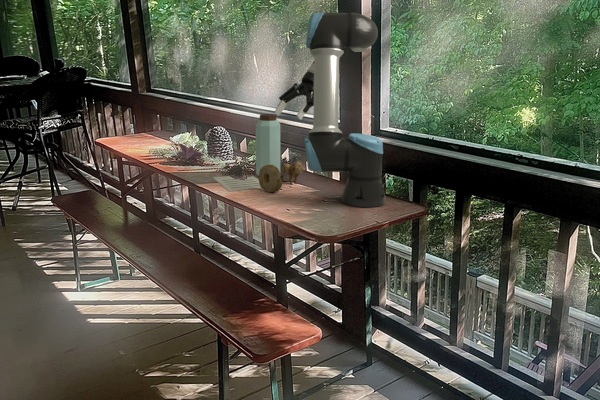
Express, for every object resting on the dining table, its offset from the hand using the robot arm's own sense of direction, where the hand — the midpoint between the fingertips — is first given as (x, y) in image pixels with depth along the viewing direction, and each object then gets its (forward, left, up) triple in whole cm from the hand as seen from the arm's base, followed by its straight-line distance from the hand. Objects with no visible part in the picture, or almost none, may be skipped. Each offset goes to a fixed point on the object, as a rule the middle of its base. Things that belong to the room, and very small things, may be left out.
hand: (287, 116), depth 236 cm
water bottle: (-4, +10, -24) cm, 26 cm away
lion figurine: (-17, +5, -24) cm, 29 cm away
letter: (-10, +24, -24) cm, 35 cm away
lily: (+29, +35, -24) cm, 51 cm away
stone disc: (-27, +18, -24) cm, 40 cm away
